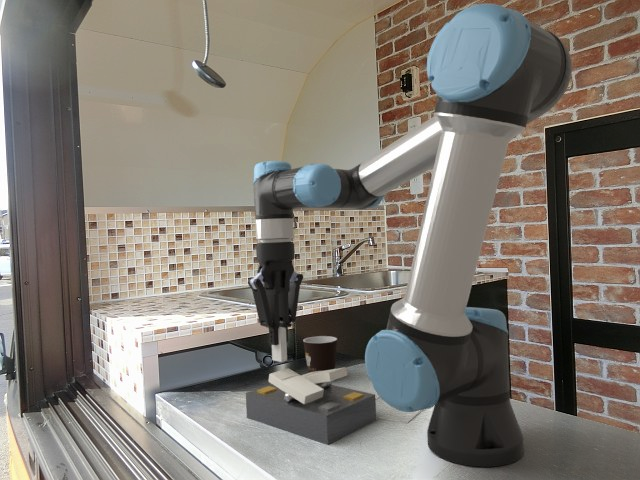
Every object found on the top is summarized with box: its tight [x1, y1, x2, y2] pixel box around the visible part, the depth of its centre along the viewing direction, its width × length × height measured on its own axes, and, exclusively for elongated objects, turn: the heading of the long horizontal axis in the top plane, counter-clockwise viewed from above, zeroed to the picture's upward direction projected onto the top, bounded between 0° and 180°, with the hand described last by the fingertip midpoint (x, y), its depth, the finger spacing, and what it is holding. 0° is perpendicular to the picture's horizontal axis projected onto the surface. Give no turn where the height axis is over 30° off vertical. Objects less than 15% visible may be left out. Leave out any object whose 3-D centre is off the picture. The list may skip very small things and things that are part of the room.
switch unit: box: [245, 381, 377, 446], centre depth 98 cm, size 22×14×6 cm, turn 47°
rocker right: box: [300, 367, 348, 384], centre depth 100 cm, size 10×5×2 cm, turn 47°
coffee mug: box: [302, 335, 338, 373], centre depth 127 cm, size 12×9×10 cm
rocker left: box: [268, 367, 324, 404], centre depth 95 cm, size 10×5×2 cm, turn 47°
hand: (279, 360), depth 98 cm, fingers closed
